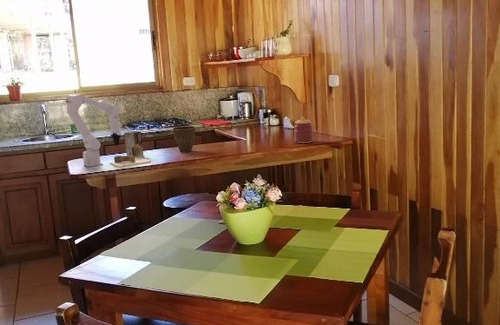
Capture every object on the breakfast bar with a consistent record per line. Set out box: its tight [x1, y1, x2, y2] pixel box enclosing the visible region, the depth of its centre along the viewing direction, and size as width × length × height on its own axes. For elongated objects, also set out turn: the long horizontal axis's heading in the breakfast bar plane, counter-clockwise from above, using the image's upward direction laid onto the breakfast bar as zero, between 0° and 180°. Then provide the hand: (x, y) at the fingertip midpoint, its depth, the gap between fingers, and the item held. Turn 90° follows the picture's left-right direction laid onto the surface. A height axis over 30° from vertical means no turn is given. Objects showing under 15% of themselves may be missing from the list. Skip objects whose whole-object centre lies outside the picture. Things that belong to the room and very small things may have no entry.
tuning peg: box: [113, 155, 135, 162], centre depth 311 cm, size 13×4×3 cm, turn 75°
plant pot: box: [172, 125, 196, 153], centre depth 341 cm, size 15×15×16 cm
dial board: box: [109, 156, 152, 168], centre depth 312 cm, size 20×16×1 cm
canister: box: [293, 116, 314, 143], centre depth 351 cm, size 13×13×18 cm
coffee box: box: [124, 130, 145, 158], centre depth 331 cm, size 9×6×16 cm
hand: (116, 145), depth 323 cm, fingers closed
